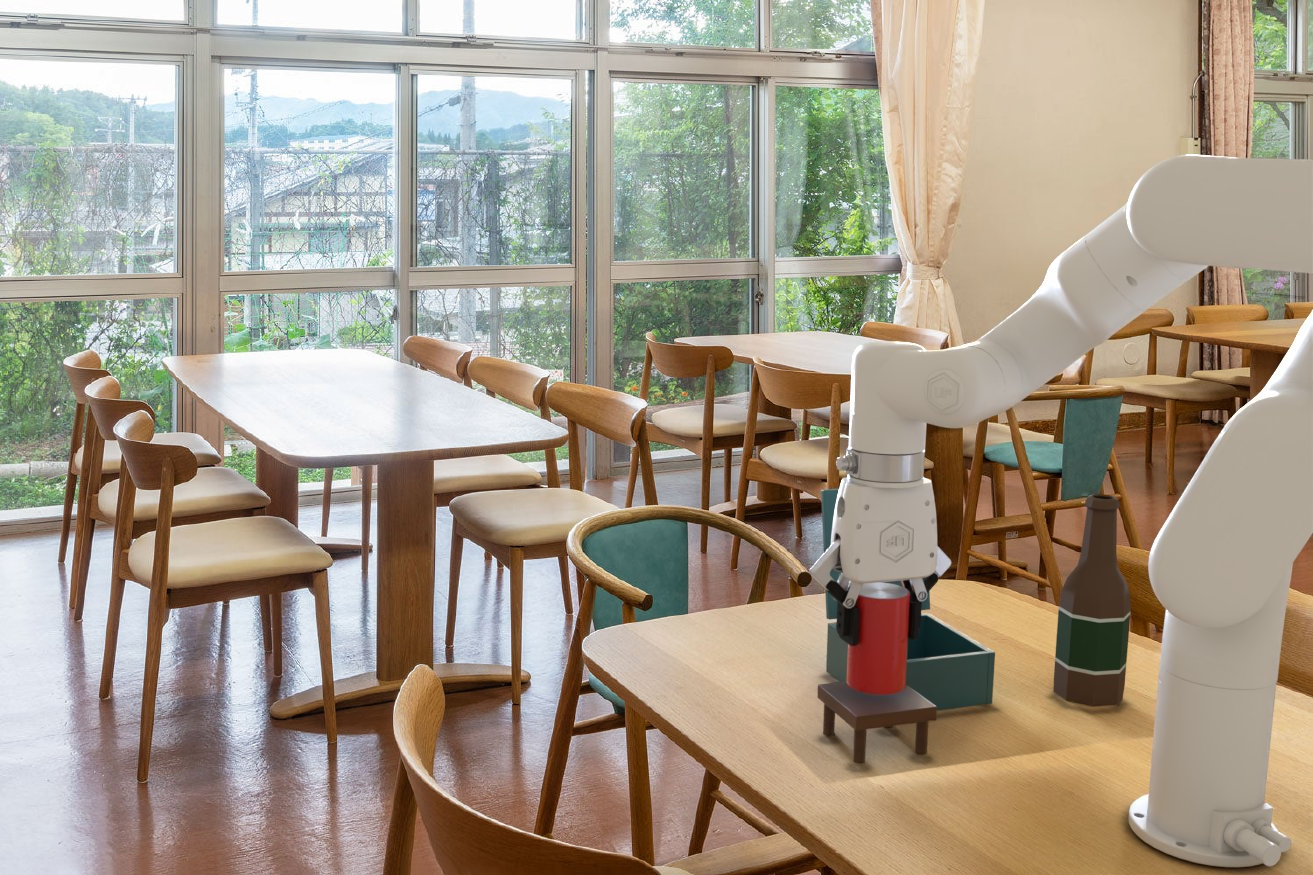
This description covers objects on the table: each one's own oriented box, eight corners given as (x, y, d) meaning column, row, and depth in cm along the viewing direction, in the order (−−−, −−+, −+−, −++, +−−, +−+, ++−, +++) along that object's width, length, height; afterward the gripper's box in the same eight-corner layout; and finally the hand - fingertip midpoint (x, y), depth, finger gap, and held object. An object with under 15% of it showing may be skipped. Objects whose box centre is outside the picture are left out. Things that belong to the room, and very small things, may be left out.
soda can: (916, 691, 129) (921, 596, 127) (863, 697, 127) (867, 601, 125) (887, 670, 134) (892, 579, 133) (836, 676, 133) (840, 584, 131)
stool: (934, 762, 129) (937, 706, 128) (854, 773, 126) (856, 716, 125) (891, 727, 138) (893, 675, 136) (815, 737, 135) (817, 684, 134)
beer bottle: (1128, 716, 141) (1145, 506, 137) (1056, 709, 143) (1070, 502, 139) (1118, 690, 149) (1133, 490, 145) (1049, 684, 150) (1062, 487, 146)
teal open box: (991, 709, 143) (995, 652, 142) (883, 723, 139) (886, 664, 137) (926, 665, 156) (928, 612, 155) (825, 677, 152) (827, 622, 151)
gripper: (823, 478, 120) (816, 659, 124) (982, 469, 126) (971, 642, 129) (791, 463, 127) (785, 634, 131) (942, 454, 133) (933, 619, 136)
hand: (878, 636), depth 130 cm, fingers closed on soda can, 6 cm apart
